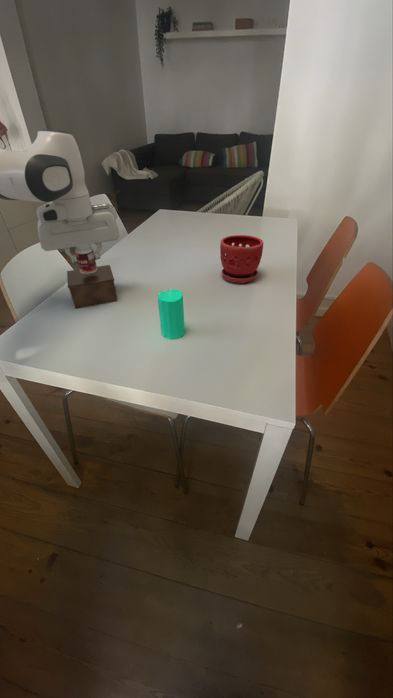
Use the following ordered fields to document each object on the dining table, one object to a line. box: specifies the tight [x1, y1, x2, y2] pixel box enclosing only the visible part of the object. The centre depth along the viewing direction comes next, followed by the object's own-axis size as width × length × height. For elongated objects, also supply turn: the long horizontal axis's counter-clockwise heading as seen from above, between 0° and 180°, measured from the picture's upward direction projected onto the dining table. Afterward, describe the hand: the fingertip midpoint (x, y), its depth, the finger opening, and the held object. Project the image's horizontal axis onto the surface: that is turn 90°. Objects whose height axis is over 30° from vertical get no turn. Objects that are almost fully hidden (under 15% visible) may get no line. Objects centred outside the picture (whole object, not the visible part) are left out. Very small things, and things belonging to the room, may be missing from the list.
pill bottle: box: [74, 243, 98, 274], centre depth 87 cm, size 5×5×8 cm
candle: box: [157, 288, 186, 340], centre depth 76 cm, size 6×6×12 cm
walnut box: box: [66, 264, 118, 309], centre depth 93 cm, size 12×10×7 cm
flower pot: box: [219, 234, 264, 284], centre depth 100 cm, size 13×13×12 cm
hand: (86, 260), depth 88 cm, fingers closed on pill bottle, 5 cm apart
